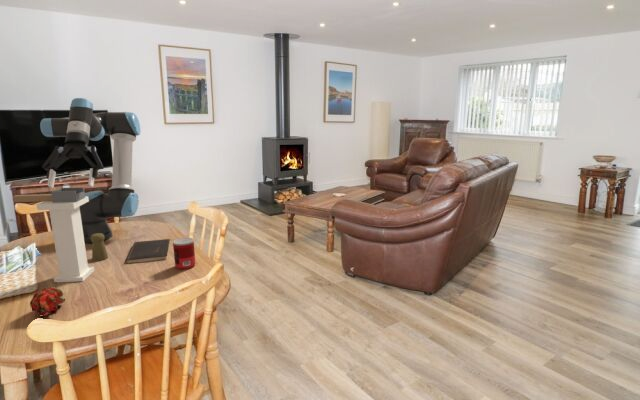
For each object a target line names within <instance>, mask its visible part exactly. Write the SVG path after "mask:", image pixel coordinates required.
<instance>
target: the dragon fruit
mask: <svg viewBox="0 0 640 400" xmlns="http://www.w3.org/2000/svg"><path fill="white" fill-rule="evenodd" d="M63 296H64V293H63V291H62V290H61V289H60V288H57V287H55V286H50V287H48V288H46V287H43V288H42V289H41V291H40V292H36V293H34V294H33V296H32V298H31V300H30V303H29V306H30V308H31V311H32V312H34V313H35V314H36V315H38V316H39V315H43V317H46V316H49V315H51V314H52V312H54V313H57V312H59V310H60V309H61V308H62V307H63V303H65V301H66V299H65V298H63ZM43 317H42V316H39V318H40V319H42V318H43Z"/></svg>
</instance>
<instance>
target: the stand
mask: <svg viewBox="0 0 640 400" xmlns="http://www.w3.org/2000/svg"><path fill="white" fill-rule="evenodd" d="M87 202H89V199H88V196H85V198H84V199H82V200H80V201H77V202H56V203H53V202H52V201H41V202H38V203H37V204H36V209H37V211H47V210H49V217H50V222H51V229H52V236H53V242H54V248H55V253H56V254H55V255H56V260H57V261H56V262H57V266H58V267H57V268H58V275H57V276H55V277H54V278H53V283H54V282H57V283H73V282H84V281H85V280H86V279H87V278H88V277H90V275H92V274H93V272H95V266H89V263H88V259H87V258H88V256H87V250H86V243H85V242H84V235H83V228H82V221H81V214H80V207H79V206H81V205H83V204H85V203H87Z"/></svg>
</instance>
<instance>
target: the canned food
mask: <svg viewBox="0 0 640 400" xmlns="http://www.w3.org/2000/svg"><path fill="white" fill-rule="evenodd" d="M172 245H173V248H172V249H173V258H174V267H175V269H177V270H180V271H181V270H185V271H186V270H188V269H189V270H190V269H192V268H193V267H195V266H196V255H195V254H196V253H195V240H194V238H192V237H181V238H180V237H179V238H177V239H175V240H173V244H172Z"/></svg>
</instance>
